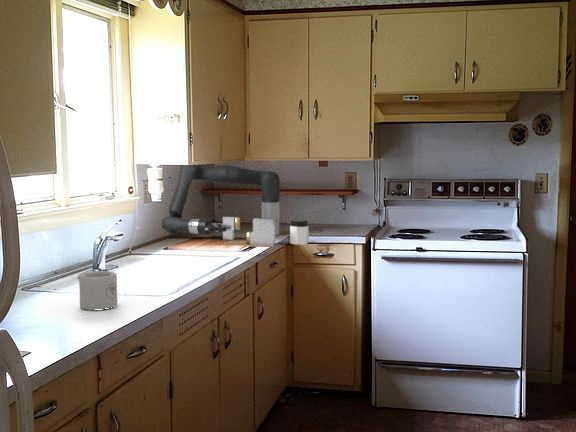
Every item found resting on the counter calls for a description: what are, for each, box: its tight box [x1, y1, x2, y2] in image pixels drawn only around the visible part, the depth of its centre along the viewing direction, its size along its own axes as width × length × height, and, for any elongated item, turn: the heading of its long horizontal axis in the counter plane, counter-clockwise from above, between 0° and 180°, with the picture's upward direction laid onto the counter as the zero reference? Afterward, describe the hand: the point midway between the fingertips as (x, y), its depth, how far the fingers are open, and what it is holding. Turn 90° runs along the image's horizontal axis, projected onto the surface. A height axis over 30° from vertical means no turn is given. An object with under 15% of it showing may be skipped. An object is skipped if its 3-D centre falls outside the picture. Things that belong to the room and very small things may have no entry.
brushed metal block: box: [222, 216, 241, 241], centre depth 336 cm, size 8×3×12 cm, turn 71°
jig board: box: [220, 240, 281, 248], centre depth 322 cm, size 12×26×1 cm, turn 71°
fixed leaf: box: [245, 217, 276, 246], centre depth 319 cm, size 3×14×12 cm, turn 70°
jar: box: [289, 218, 310, 245], centre depth 325 cm, size 9×8×12 cm
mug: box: [78, 270, 118, 311], centre depth 206 cm, size 14×11×10 cm
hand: (229, 228), depth 337 cm, fingers open, 8 cm apart
